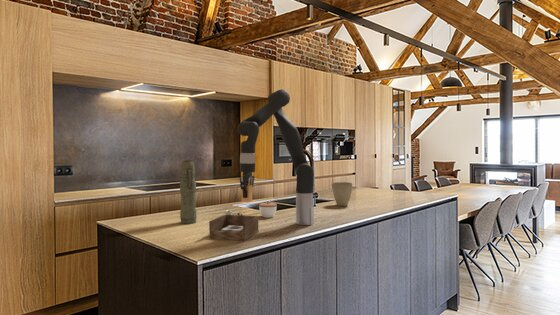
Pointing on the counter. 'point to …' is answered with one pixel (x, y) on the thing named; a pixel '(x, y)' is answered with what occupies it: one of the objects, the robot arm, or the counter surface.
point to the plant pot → (342, 192)
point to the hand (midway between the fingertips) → (246, 197)
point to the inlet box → (233, 227)
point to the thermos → (188, 193)
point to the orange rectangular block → (248, 195)
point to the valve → (230, 212)
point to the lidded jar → (267, 209)
